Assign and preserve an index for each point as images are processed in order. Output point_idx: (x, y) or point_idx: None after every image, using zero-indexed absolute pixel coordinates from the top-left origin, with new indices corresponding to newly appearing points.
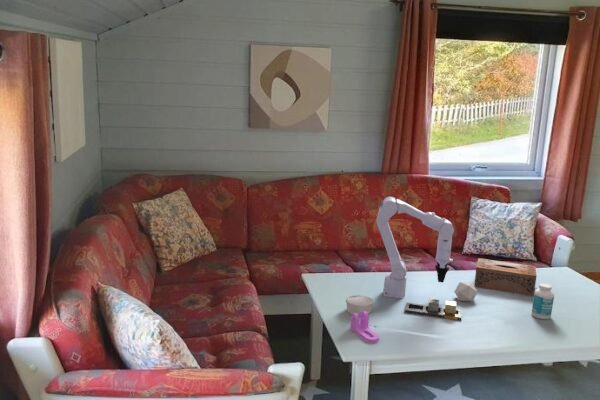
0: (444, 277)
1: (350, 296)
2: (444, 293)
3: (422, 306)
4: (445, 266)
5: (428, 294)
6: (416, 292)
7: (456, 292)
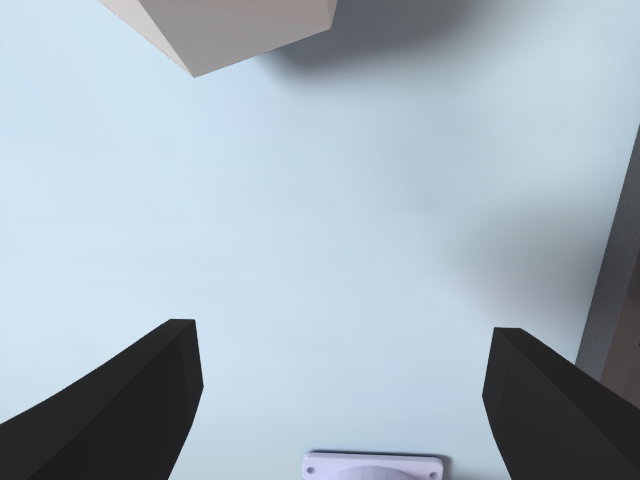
0: (601, 390)
1: None
2: (131, 170)
3: (625, 368)
4: (67, 475)
5: (228, 306)
6: (227, 389)
7: (262, 50)
